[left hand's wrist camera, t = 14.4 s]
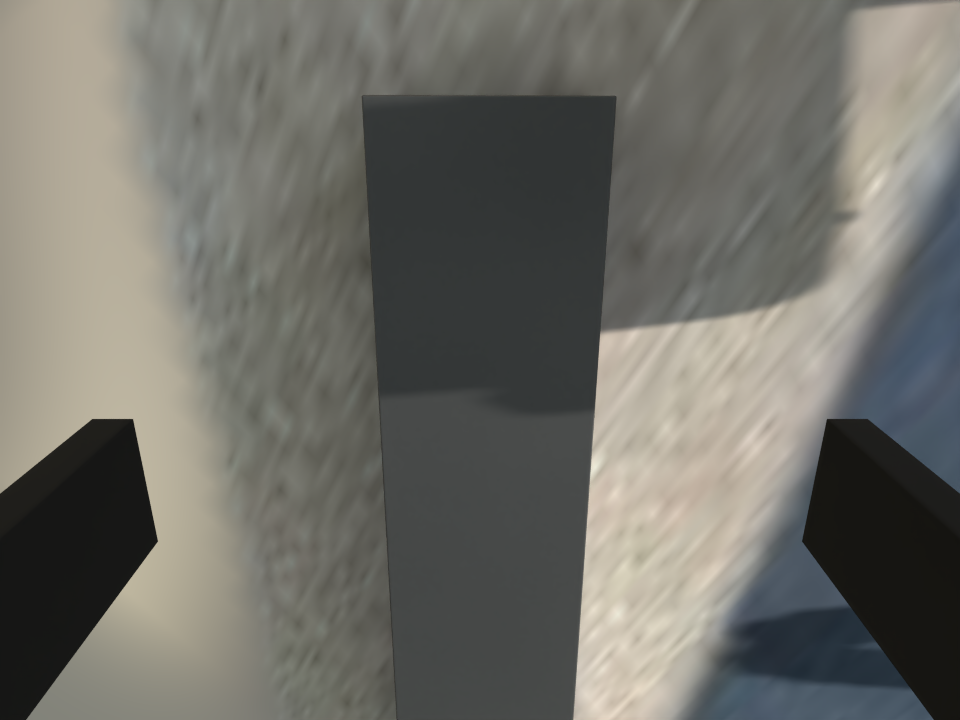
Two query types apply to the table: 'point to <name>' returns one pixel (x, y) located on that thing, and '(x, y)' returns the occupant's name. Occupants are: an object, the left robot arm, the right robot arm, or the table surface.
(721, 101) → the table surface
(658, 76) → the table surface
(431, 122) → the wide beam
